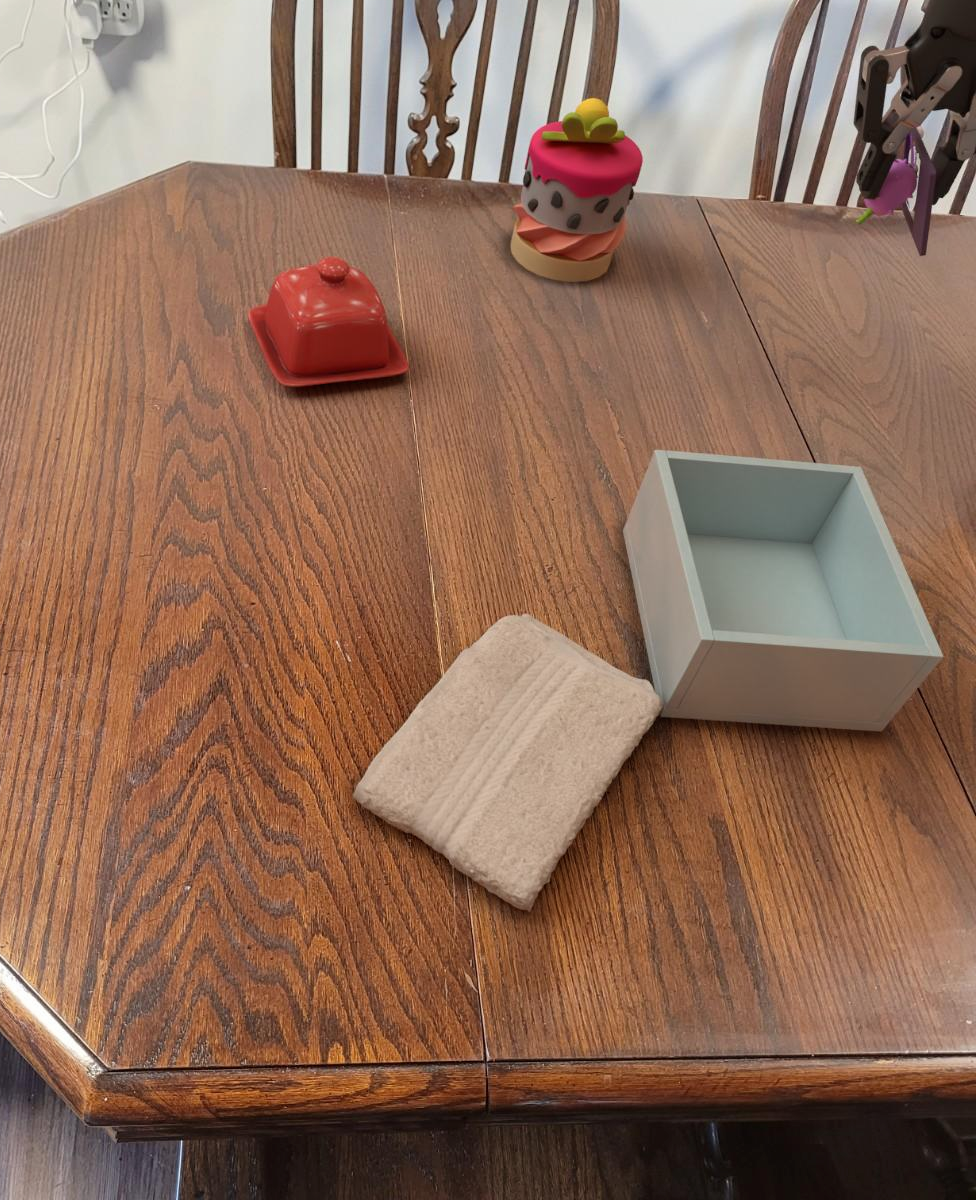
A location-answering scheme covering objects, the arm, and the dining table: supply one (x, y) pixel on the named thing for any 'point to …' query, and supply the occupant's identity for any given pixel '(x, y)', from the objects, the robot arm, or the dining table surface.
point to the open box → (773, 594)
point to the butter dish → (326, 327)
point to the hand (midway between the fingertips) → (896, 196)
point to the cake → (575, 195)
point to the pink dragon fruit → (908, 190)
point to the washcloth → (510, 755)
